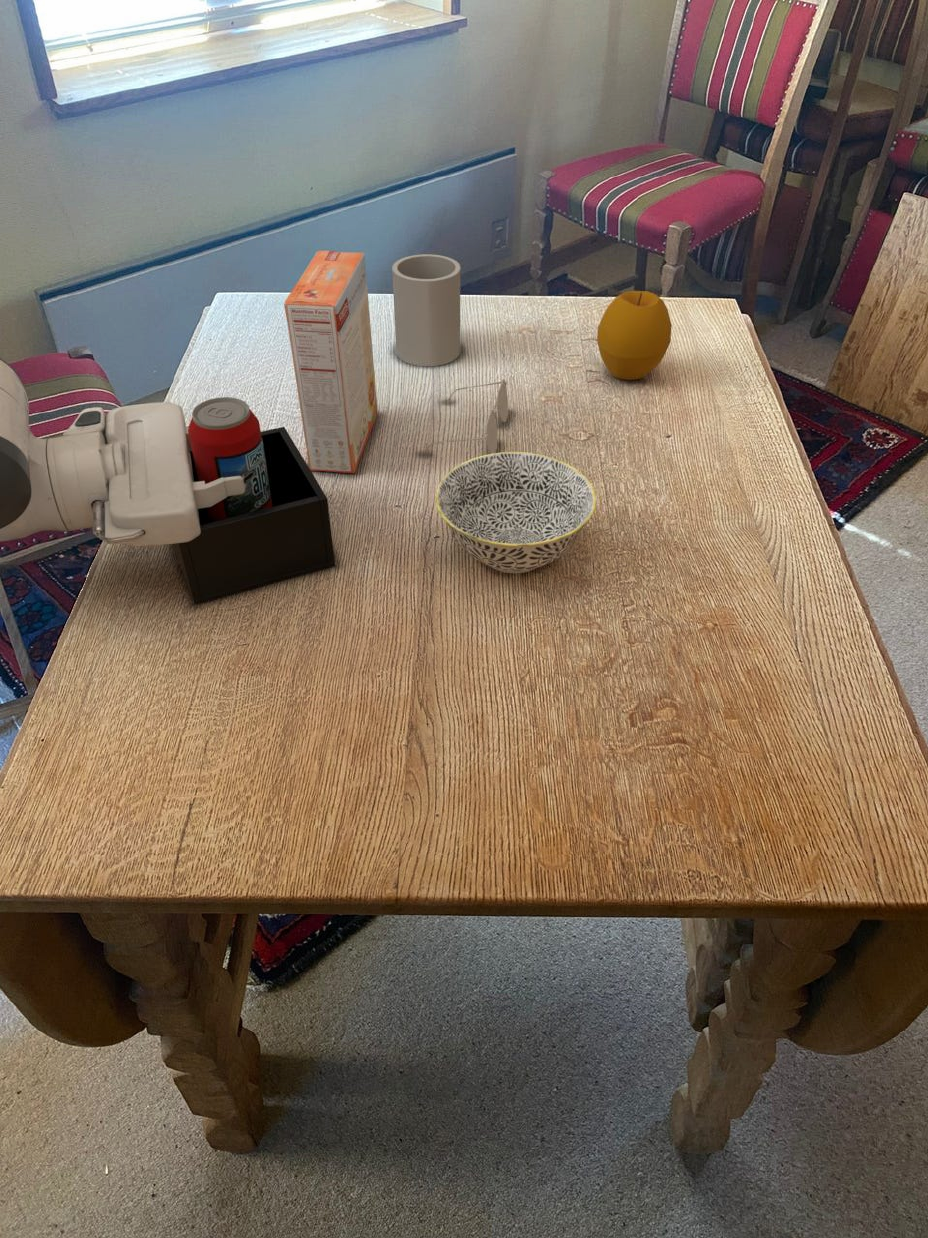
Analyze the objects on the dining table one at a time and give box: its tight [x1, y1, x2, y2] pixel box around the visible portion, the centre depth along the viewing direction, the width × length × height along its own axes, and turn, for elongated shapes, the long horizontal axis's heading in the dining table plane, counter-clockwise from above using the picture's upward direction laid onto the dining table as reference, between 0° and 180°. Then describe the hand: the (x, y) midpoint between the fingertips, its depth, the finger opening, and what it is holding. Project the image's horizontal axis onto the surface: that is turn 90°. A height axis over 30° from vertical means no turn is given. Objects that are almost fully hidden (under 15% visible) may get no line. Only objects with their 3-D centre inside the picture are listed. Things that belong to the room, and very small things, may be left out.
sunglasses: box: [422, 379, 509, 456], centre depth 112 cm, size 14×8×5 cm, turn 168°
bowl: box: [435, 451, 597, 574], centre depth 93 cm, size 16×16×8 cm
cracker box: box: [283, 250, 379, 474], centre depth 104 cm, size 14×6×21 cm, turn 172°
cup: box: [391, 253, 461, 367], centre depth 125 cm, size 9×9×12 cm
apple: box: [596, 290, 672, 381], centre depth 120 cm, size 10×10×12 cm
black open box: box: [172, 426, 336, 606], centre depth 93 cm, size 15×15×9 cm
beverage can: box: [188, 396, 272, 522], centre depth 90 cm, size 7×7×12 cm
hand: (239, 458), depth 90 cm, fingers closed on beverage can, 7 cm apart
